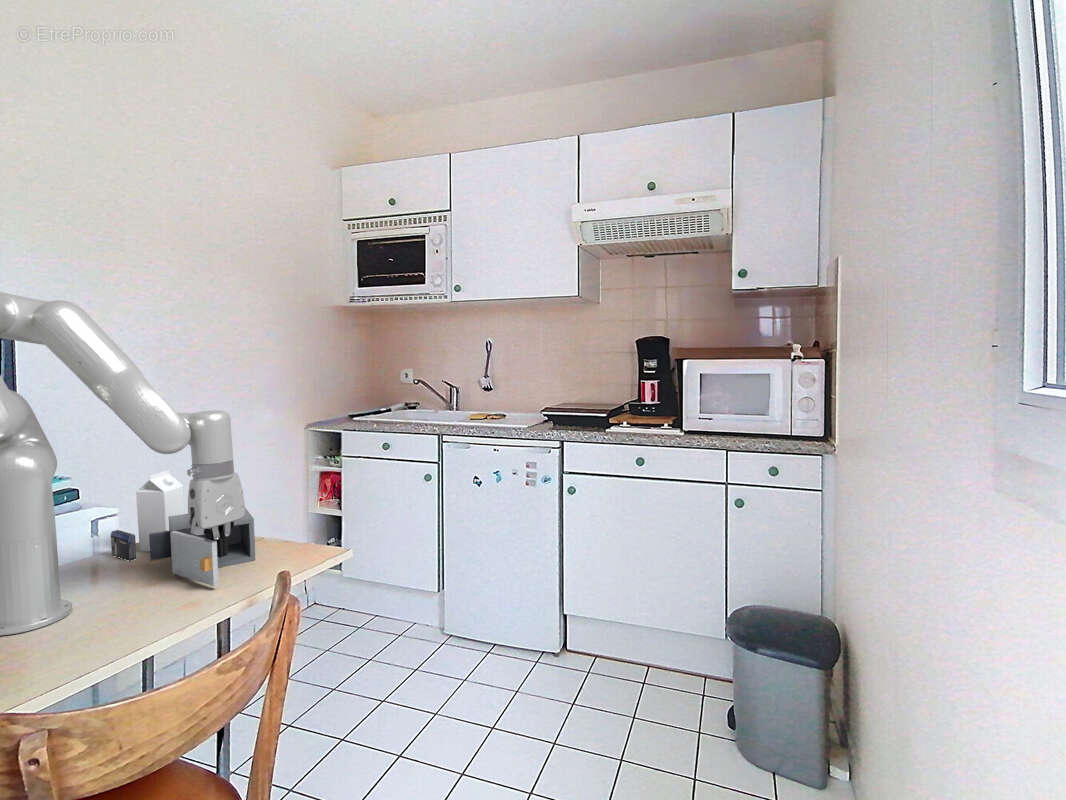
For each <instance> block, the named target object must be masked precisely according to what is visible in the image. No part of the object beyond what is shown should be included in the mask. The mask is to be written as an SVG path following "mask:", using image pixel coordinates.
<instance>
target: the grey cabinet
mask: <svg viewBox="0 0 1066 800" xmlns="http://www.w3.org/2000/svg"><path fill="white" fill-rule="evenodd" d="M254 519H255V518H254V517H253V515H252V514H251V513H250V512H249V511H248V509H247V508H246V507H245V515H244V516H243V517H242V520H241V522H239V523H237V524H235V525H234V526H233V527H232V529H231V530H230V535H229V536H227V542H228V549H227V551H228V555H226V556H223V557H221V558H219V557H217V560H218V568H223V567H229V566H233V565H238V564H239V565H240V564H243V563H248V562H253V561H256V544H255V543H256V540H255V520H254ZM191 527H192V526H190V524H189V520H188V513H185V514H182V515H175V516H169V531H164V532H157V533H150V534H149V542H150V552H149V556H150V557H149V558H150V561H157V560H162V559H163V560H164V559H168V558H170V561H171V563H172V555H171V536H170V532H173V531H178V532H182V533H185V534H189V535H193V534H191ZM201 528H202V527H201ZM193 536H197V537H201V538H205V539H209V538H206V536H204V535H193ZM173 575H174V577H175V576H178V575H177V574H174V573H173Z"/></svg>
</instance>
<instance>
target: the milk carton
mask: <svg viewBox="0 0 1066 800" xmlns="http://www.w3.org/2000/svg"><path fill="white" fill-rule="evenodd" d="M170 473H171V471H170V470H169V469H167V470H164V471H159V472H157V473H153V474H150V475H149V476H148V481H146V482H145V483H144V484H143V485H142V486H140V488H139V489H138V490H136V509H137V525H138V526H137V528H138V530H137V531H138V543H139V547H138V549H139V552H147V553H148V552H149V553H150V542H149V534H150V533H157V532H164V531H169V516H175V515H182V514H186V513H185V493H184V484H182V483H181V482H180V481H179V480H177V479H176V478H175V477H174V476H173V475H171V474H170Z"/></svg>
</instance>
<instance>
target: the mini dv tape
mask: <svg viewBox="0 0 1066 800" xmlns="http://www.w3.org/2000/svg"><path fill="white" fill-rule="evenodd" d="M136 543H137V542H136V535H135V534H134V533H130V532H128V531H127V532H126V531H123V530H120V529H116V530H112V531H111V532H110V544H111V556H112V557H114V556H116V557H115V558H117V557H120V558H122V559H121V560H123V559H126V560H129V561H128V562H132V561H131V560H133V561H135V560H134V559H137V544H136ZM120 558H119V559H120ZM126 560H125V561H126Z"/></svg>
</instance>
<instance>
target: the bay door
mask: <svg viewBox="0 0 1066 800" xmlns="http://www.w3.org/2000/svg"><path fill="white" fill-rule="evenodd" d="M170 536H171V555H172V562H171V568H172V572H171V573H172V574H173V575H174V574H177V575H176V576H180V577H183V578H186V579H190V580H193V581H196V582H199V583H202V584H205V585H208V586H212V587H215V586H218V585H219V567H218V560H217V541H213V540H209V539H205V538H201V537H197V536H193V535H189V534H185V533H182V532H178V531H173V532H170Z"/></svg>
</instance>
